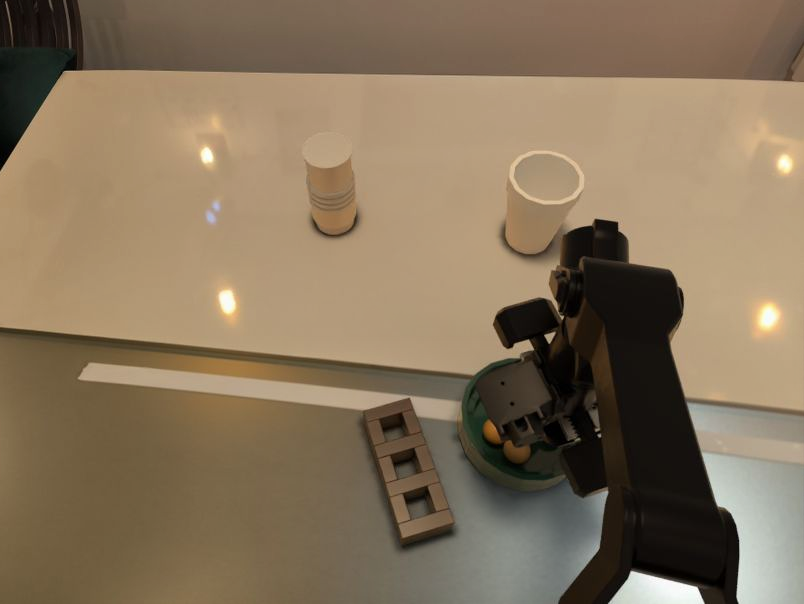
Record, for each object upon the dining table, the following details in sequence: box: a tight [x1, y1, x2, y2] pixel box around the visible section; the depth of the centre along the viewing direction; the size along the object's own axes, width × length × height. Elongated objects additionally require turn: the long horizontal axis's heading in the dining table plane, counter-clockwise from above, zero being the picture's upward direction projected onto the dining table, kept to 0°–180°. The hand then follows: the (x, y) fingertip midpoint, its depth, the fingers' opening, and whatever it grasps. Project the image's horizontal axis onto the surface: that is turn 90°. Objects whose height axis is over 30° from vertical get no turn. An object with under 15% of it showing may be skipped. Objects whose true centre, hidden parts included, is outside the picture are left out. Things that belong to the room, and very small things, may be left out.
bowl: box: [457, 357, 582, 492], centre depth 71 cm, size 14×14×5 cm
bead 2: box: [503, 440, 531, 464], centre depth 69 cm, size 3×3×3 cm
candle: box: [301, 131, 357, 236], centre depth 87 cm, size 7×7×15 cm
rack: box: [362, 397, 455, 546], centre depth 69 cm, size 14×6×4 cm, turn 15°
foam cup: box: [504, 150, 585, 255], centre depth 83 cm, size 10×9×13 cm
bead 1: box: [483, 419, 503, 444], centre depth 71 cm, size 3×3×3 cm
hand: (542, 418), depth 65 cm, fingers closed
